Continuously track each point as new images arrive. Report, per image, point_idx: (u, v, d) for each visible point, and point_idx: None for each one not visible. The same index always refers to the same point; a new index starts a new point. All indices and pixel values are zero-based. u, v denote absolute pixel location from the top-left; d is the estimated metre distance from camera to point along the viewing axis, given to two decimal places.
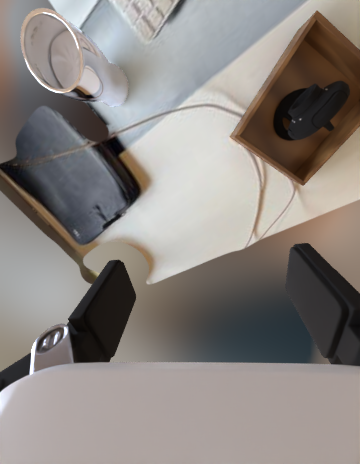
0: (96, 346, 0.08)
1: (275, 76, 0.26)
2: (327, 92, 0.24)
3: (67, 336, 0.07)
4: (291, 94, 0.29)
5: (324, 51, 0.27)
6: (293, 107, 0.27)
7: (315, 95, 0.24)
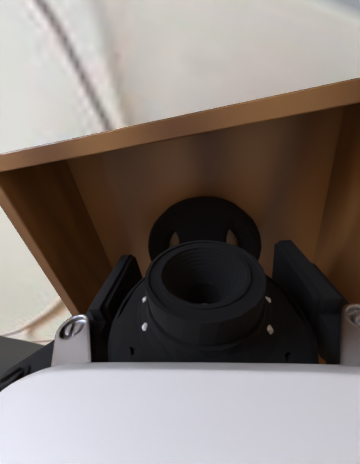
0: None
1: (207, 117, 0.06)
2: (262, 355, 0.05)
3: (88, 325, 0.07)
4: (223, 207, 0.10)
5: (339, 197, 0.10)
6: (178, 258, 0.07)
7: (225, 334, 0.05)
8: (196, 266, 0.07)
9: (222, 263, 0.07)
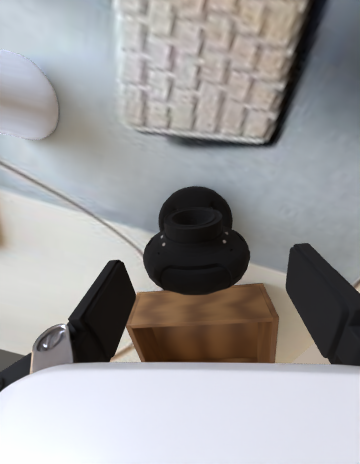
0: (96, 346, 0.08)
1: (206, 322, 0.19)
2: (219, 249, 0.12)
3: (67, 336, 0.07)
4: (206, 192, 0.17)
5: None
6: (180, 214, 0.14)
7: (201, 236, 0.11)
8: (189, 219, 0.14)
9: (203, 216, 0.14)
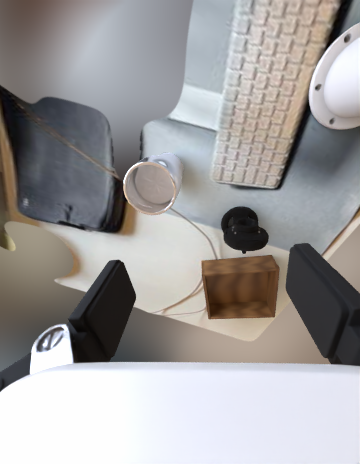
0: (96, 346, 0.08)
1: (243, 272, 0.39)
2: (257, 234, 0.31)
3: (67, 336, 0.07)
4: (247, 209, 0.36)
5: (269, 275, 0.43)
6: (239, 221, 0.33)
7: (251, 230, 0.31)
8: (243, 223, 0.34)
9: (249, 222, 0.33)
